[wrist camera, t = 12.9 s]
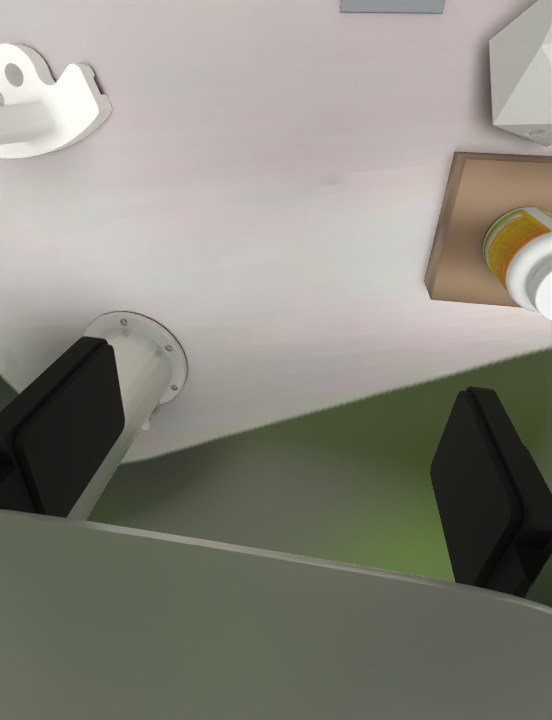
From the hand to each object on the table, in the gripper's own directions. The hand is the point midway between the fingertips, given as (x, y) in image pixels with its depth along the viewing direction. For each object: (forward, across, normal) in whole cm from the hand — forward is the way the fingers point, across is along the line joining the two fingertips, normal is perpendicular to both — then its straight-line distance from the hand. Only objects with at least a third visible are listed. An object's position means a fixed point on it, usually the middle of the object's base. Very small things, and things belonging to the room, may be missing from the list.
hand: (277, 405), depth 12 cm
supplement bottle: (+26, -16, +1) cm, 30 cm away
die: (+30, -14, -10) cm, 34 cm away
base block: (+30, -16, +1) cm, 34 cm away
